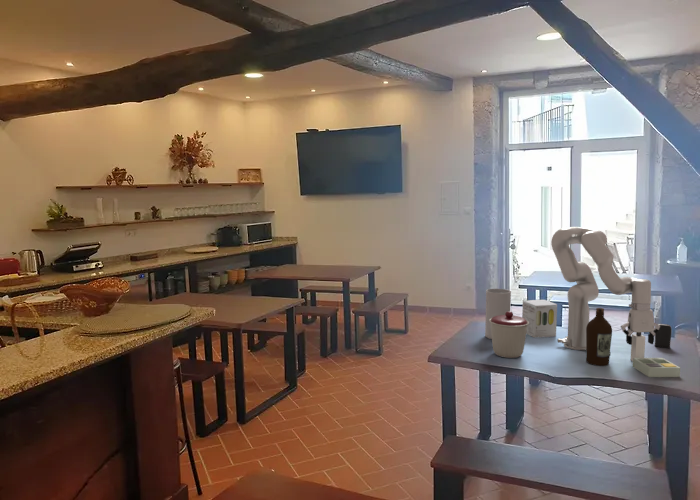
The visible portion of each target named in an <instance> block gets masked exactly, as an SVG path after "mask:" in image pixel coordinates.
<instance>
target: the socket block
mask: <svg viewBox="0 0 700 500" xmlns="http://www.w3.org/2000/svg"><path fill="white" fill-rule="evenodd" d="M632 367H633V368H634V369H635V370H637V371H639V372H640V373H642V374H643V375H644V376H645V377H647V378H680V377H681V367H680V366H678V365H676V364H675V363H673V362H671V361H669V360H667V359H665V358H664V357H644V358H633V361H632Z"/></svg>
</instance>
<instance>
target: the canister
mask: <svg viewBox="0 0 700 500" xmlns="http://www.w3.org/2000/svg"><path fill="white" fill-rule="evenodd" d="M489 322H490V323H491V334H492V339H491V342H492V343H491V344H492V349H493V353H494V354H495V355H497V356H498V357H502V358H506V359H507V358H508V359H515V358H516V359H517V358H519V357H521V356H522V355H523V353H524V350H525V344H526V338H527V334H526V333H527V325H528V324H529V321H527V320H526V319H524V318H522V316H519V315H514V313H513V312H512V311H511V310H510V311H507V312H506V313H505V315H498V316H494V317H493V318H491V319H489Z"/></svg>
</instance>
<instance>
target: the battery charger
mask: <svg viewBox="0 0 700 500" xmlns="http://www.w3.org/2000/svg"><path fill="white" fill-rule="evenodd" d="M657 324H658V325H660V328H659V330H658V332H657V333H656V334H655V335H654V347H658V348H666V349H670V348H671V342H672V340H671V339H672V333H673V331H672V326H671V325H670V324H668V323H667V324H666V323H657Z"/></svg>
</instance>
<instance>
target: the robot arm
mask: <svg viewBox="0 0 700 500" xmlns="http://www.w3.org/2000/svg"><path fill="white" fill-rule="evenodd" d="M551 237H552V238H551V243H550V245H551V249H552V252H553V253H554V255H555V258H556V261H557V263H558V266H559V268H560V271H561V274H562V277H563V278H564V280H565V281H566V282H568V283H576V284H574V285H572V286H570V287H569V289H568V291H567V303H568V316H567V317H568V319H567V320H568V321H567V336H565V337H563V338H557V340H556V341H557V343H561V344H563V346H564V348H567V349H570V350H574V351H575V350H576V351H586V327H587V324H588V323H589V322H590V307H589V302H592V301H594V300H596V299H597V298H598V296H599V294H600V293H599V292H600V291H599V286H598V284H597V281H596V279H595V276H594V274H593V271H592V269H591V268H590V266H589V265H588V264H587V263H585V262H582V261H578V260H577V258H576V256H575V255H576V254H575V253H574V251H573V250H572V248H571V247H570V245H574V244H579V245H582V246H583V248H584V250H585V251H586V252H587V254H588V255H589V256H590V258H591V259H592V261H594V263H595V264H596V266H597V272H598V275H599V278H600V280H601V281H602V283H603V284H604V285H605V286H606V288H607V290H609V292H610V293H612V294H613V295H616V296H621V295H625V294H631V302H630V304H628V307H629V308H630V309H629V312H628V317H627V322H624V323H623V324H621V325H620V329H621V330H622V332H623V333H624V334H625V335H626V336H625V337H626V338H625V341H626V344H628V345H630V346H631V344H632V334H634V333H636V332H641V333H648V335H647V342H648V343H649V344H651V345H654V343H655V334H656V333H657V332H658V330H659V328H660V325H658V324H659V323H656V322H655V317H654V311H653V309H651V302H652V301H651V298H652V282H651V280H649V279H645V278H635V277H631V276H622V277H620V276H619V275H618V273H617V272H616V270H615V268H614V266H613V261H614V258H615V257H614V254H613V252H612V251H611V250H610V249H609V248H608V246H607V245H606V244H607V242H608V237H607V234H605V232H604V231H602V230H598V229H592V228H588V227H580V226H569V227H567V226H566V227H562V228H560V229H558V230H557V231H555V232H554V234H553V235H552V236H551ZM626 328H627V329H626Z"/></svg>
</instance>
